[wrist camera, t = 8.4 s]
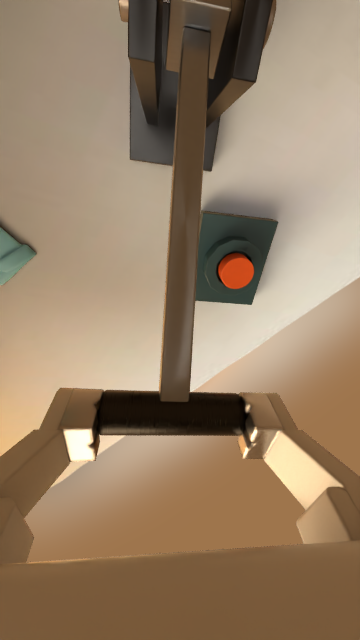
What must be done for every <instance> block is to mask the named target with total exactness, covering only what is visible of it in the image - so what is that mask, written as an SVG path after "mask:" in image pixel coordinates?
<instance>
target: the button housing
mask: <svg viewBox="0 0 360 640" xmlns="http://www.w3.org/2000/svg"><path fill="white" fill-rule="evenodd" d="M277 224H278V222H277V221H275V220H273V219H266V218H258V217H250V216H242V215H234V214H226V213H218V212H210V211H201V215H200V228H199V244H198V261H197V278H196V294H195V301H208V302H221V303H235V304H248V305H252V302H253V299H254V296H255V293H256V290H257V287H258V284H259V280H260V277H261V274H262V271H263V268H264V265H265V262H266V259H267V256H268V252H269V249H270V246H271V243H272V240H273V237H274V234H275V231H276V227H277ZM232 253H240V254H243V255H244V256H245V257H246V258H247V259H248V260H249V261H250V262H251V263H252V264H253V267H254V275H253V277H252V279H251V281H250V282H249V283H248V284H247V285H246V286H244V287H242V288H238V289H232V288H229V287H227V286H226V285H225V284H224V283H223V281H222V280H221V278H220V276H219V273H218V268H219V264H220V262H221V261H222V259H223V258H224V257H226V256H227V255H229V254H232Z"/></svg>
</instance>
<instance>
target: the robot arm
mask: <svg viewBox="0 0 360 640" xmlns="http://www.w3.org/2000/svg"><path fill="white" fill-rule="evenodd" d="M103 394H104V390H101V389H80V388H60V389H59V390H58V391H57V392H56V394H55V397H54V399H53V401H52V403H51V405H50V407H49V409H48V411H47V414H46V416H45V418H44V420H43V422H42V424H41V426H40V428H39V430H33V431H32V432H31V433H29V434H28V435H27V436H26V437H24V438H23V439H22V440H21V441H19V442H18V443H17V444H16V445H14V446H13V447H12V448H11V449H9V450H8V451H7V452H6V453H4V454H3V455H2V456H1V457H0V640H360V476H358V475H357V474H356V473H355V472H353V471H352V470H351V469H350V468H348V467H347V466H346V465H345V464H343V463H342V462H341V461H340V460H338V459H337V458H336V457H335V456H334V455H332V454H331V453H330V452H328V451H327V450H326V449H325V448H324V447H322V446H321V445H320V444H319V443H317V442H316V441H315V440H314V439H312V438H311V437H310V436H309V435H307V434H306V433H305V432H304V431H302V430H298V428H297V427H296V425H295V423H294V421H293V419H292V418H291V416H290V414H289V412H288V411H287V409H286V407H285V405H284V403H283V401H282V400H281V398H280V396H279V395H278V394H277V393H252V392H251V393H250V392H248V393H247V392H240V393H239V394H238V396H239V397H240V400H241V403H242V407H243V410H244V417H245V420H244V429H243V431H242V432H241V434H240V435H239V439H238V445H239V448H240V451H241V455H242V458H243V459H264V460H265V462H266V463H267V464H268V465H269V467H270V468H271V469H272V470H273V471H274V473H275V474H276V475H277V476H278V477H279V479H280V480H281V481H282V482H283V483H284V485H285V486H286V487H287V488H288V489H289V490H290V492H291V493H292V494H293V495H294V496H295V497H296V499H297V500H298V501H299V502H300V504H301V505H302V506H303V507H304V508H305V510H306V511H305V512H304V513H303V514H302V515H301V516H300V517H299V518H298V520H297V522H296V525H297V527H298V530H299V532H300V535H301V537H302V540H303V543H304V544H297V545H282V546H269V547H268V546H267V547H253V548H237V549H222V550H207V551H192V552H177V553H162V554H147V555H132V556H118V557H102V558H87V559H72V560H58V561H42V562H27V563H26V561H27V557H28V555H29V552H30V549H31V545H32V543H33V539H34V537H33V534H32V532H31V530H30V529H29V527H28V525H27V523H26V521H25V520H24V518H25V516H26V515H27V514H28V513H29V512H30V510H31V509H32V508H33V507H34V506H35V505H36V503H37V502H38V501H39V500H40V499H41V497H42V496H43V495H44V494H45V493H46V491H47V490H48V489H49V488H50V487H51V485H52V484H53V483H54V482H55V481H56V479H57V478H58V477H59V476H60V475H61V473H62V472H63V471H64V470H65V469H66V467H67V466H68V465H69V464H70V462H77V461H95V460H96V456H97V452H98V447H99V443H100V439H99V430H98V418H99V410H100V407H101V402H102V397H103Z"/></svg>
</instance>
